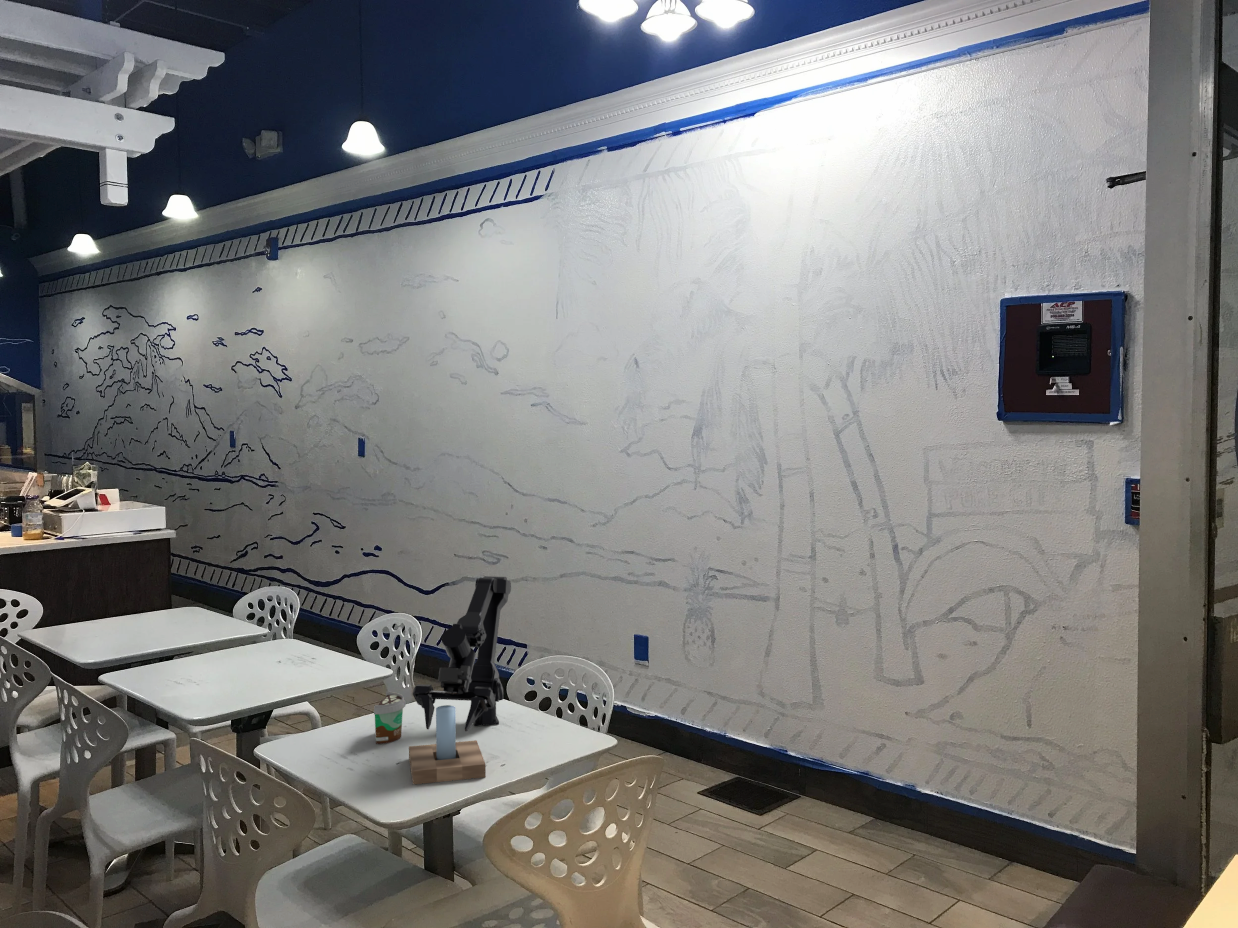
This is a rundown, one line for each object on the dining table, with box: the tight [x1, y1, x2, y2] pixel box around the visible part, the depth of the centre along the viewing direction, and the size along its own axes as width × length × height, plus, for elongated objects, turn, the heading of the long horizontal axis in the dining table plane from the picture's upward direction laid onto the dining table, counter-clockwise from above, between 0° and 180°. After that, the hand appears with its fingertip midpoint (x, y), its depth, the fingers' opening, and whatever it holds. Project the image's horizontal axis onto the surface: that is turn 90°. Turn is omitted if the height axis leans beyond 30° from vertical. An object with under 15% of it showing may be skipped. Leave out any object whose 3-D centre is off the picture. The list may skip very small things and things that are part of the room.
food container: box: [373, 691, 406, 745], centre depth 242 cm, size 12×6×10 cm, turn 179°
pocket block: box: [408, 739, 487, 785], centre depth 222 cm, size 16×16×3 cm
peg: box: [435, 704, 457, 760], centre depth 222 cm, size 4×4×14 cm
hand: (446, 729), depth 222 cm, fingers open, 9 cm apart
